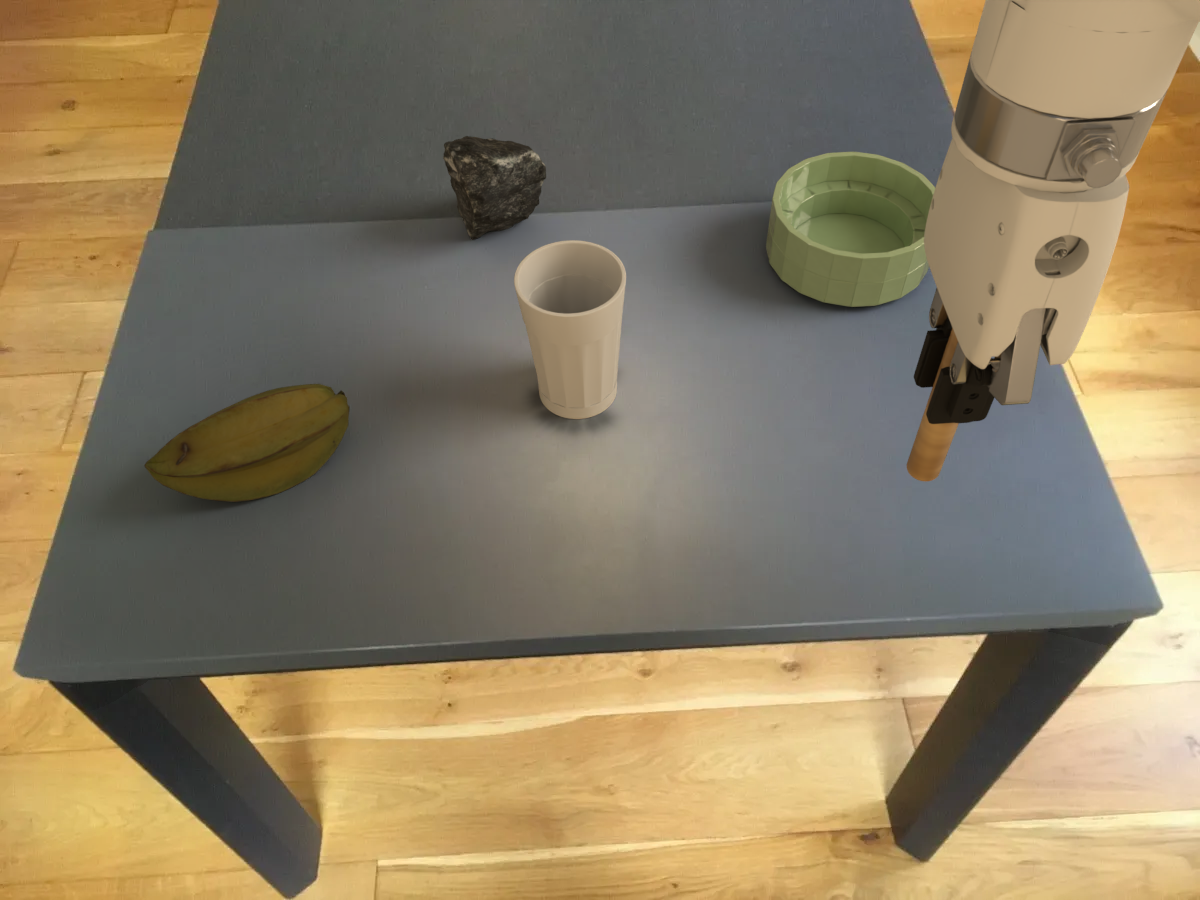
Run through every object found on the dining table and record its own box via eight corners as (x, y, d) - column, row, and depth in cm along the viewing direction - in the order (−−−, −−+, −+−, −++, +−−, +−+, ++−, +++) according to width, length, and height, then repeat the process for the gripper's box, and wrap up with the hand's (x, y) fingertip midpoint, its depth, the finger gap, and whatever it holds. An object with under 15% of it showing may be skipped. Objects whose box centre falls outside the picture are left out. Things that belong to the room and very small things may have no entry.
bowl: (931, 218, 90) (948, 163, 85) (921, 324, 82) (938, 269, 77) (779, 196, 93) (786, 142, 88) (753, 296, 84) (760, 242, 80)
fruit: (306, 540, 70) (280, 487, 65) (161, 506, 73) (124, 452, 67) (371, 422, 77) (351, 365, 72) (236, 394, 79) (207, 337, 74)
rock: (489, 262, 88) (475, 170, 80) (441, 225, 92) (423, 133, 84) (554, 223, 91) (547, 130, 83) (506, 189, 95) (494, 96, 87)
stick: (934, 455, 60) (986, 314, 51) (943, 481, 59) (998, 342, 50) (902, 457, 60) (948, 317, 51) (910, 483, 59) (959, 344, 50)
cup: (645, 376, 79) (647, 263, 70) (592, 442, 75) (586, 331, 66) (564, 340, 82) (555, 227, 72) (509, 401, 78) (491, 290, 68)
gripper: (1230, 224, 35) (1063, 512, 50) (1076, 5, 45) (974, 298, 60) (1023, 238, 35) (916, 521, 50) (914, 16, 45) (851, 306, 60)
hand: (948, 398), depth 55 cm, fingers closed on stick, 2 cm apart
